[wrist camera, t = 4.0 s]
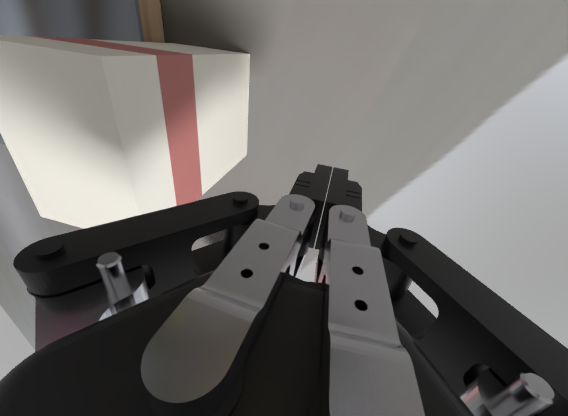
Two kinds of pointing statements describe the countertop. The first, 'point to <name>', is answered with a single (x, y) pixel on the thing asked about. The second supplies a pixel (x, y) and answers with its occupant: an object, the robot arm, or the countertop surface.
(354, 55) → the countertop surface
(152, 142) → the carton
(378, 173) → the countertop surface
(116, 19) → the podium
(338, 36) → the countertop surface
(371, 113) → the countertop surface
